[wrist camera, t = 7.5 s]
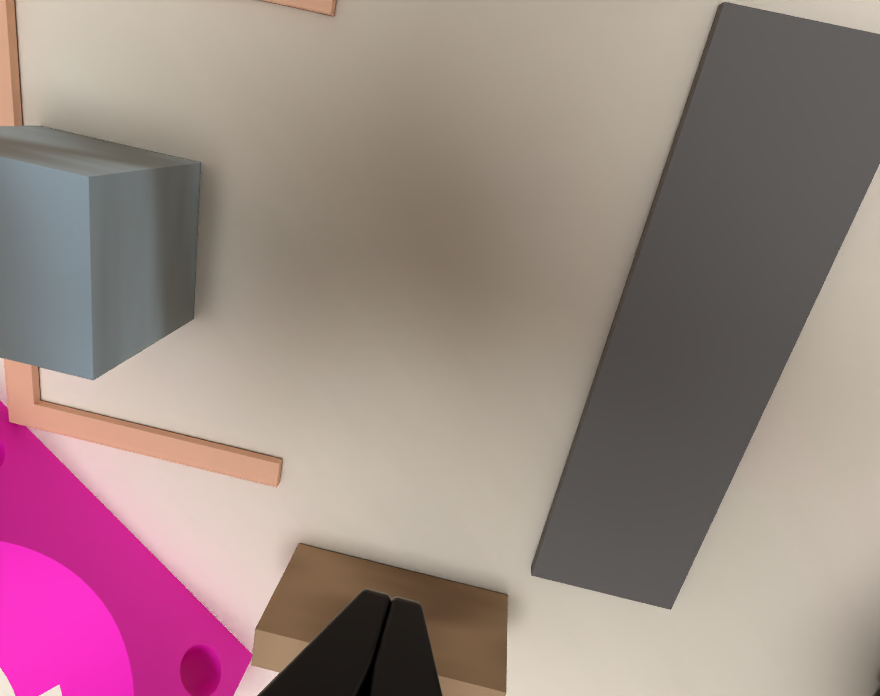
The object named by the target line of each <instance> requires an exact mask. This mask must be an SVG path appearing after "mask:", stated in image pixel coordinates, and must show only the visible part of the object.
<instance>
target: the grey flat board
mask: <svg viewBox="0 0 880 696" xmlns="http://www.w3.org/2000/svg"><path fill="white" fill-rule="evenodd" d="M879 164H880V34H876V33H871V32H866V31H861V30H856V29H852V28H847V27H842V26H837V25H832V24H828V23H823V22H818V21H813V20H808V19H804V18H799V17H794V16H789V15H785V14H780V13H775V12H770V11H765V10H761V9H756V8H751V7H746V6H741V5H737V4H732V3H727V2H724V3H722V4H720V5H719V8H718V11H717V14H716V17H715V20H714V23H713V25H712V28H711V31H710V34H709V37H708V40H707V43H706V46H705V49H704V52H703V55H702V58H701V61H700V64H699V67H698V70H697V73H696V76H695V79H694V82H693V85H692V88H691V91H690V94H689V97H688V100H687V103H686V106H685V109H684V112H683V115H682V118H681V121H680V124H679V127H678V130H677V133H676V136H675V139H674V142H673V145H672V148H671V151H670V154H669V157H668V160H667V163H666V166H665V169H664V172H663V175H662V178H661V181H660V184H659V187H658V190H657V193H656V196H655V199H654V202H653V205H652V208H651V211H650V214H649V217H648V220H647V223H646V226H645V229H644V232H643V235H642V238H641V241H640V244H639V247H638V250H637V253H636V256H635V259H634V262H633V265H632V268H631V271H630V273H629V276H628V279H627V282H626V285H625V288H624V291H623V294H622V297H621V300H620V303H619V306H618V309H617V312H616V315H615V318H614V321H613V324H612V327H611V330H610V333H609V336H608V339H607V342H606V345H605V348H604V351H603V354H602V357H601V360H600V363H599V366H598V369H597V372H596V375H595V378H594V381H593V384H592V387H591V390H590V393H589V396H588V399H587V402H586V405H585V408H584V411H583V414H582V417H581V420H580V423H579V426H578V429H577V432H576V435H575V438H574V441H573V444H572V447H571V450H570V453H569V456H568V459H567V462H566V465H565V468H564V471H563V474H562V477H561V480H560V483H559V486H558V489H557V492H556V495H555V498H554V501H553V504H552V507H551V510H550V513H549V516H548V519H547V521H546V524H545V527H544V530H543V533H542V536H541V539H540V542H539V545H538V548H537V551H536V554H535V557H534V560H533V563H532V566H531V575H532V576H536V577H540V578H544V579H548V580H553V581H557V582H561V583H565V584H569V585H573V586H577V587H581V588H585V589H589V590H593V591H597V592H601V593H605V594H609V595H613V596H618V597H622V598H626V599H630V600H634V601H638V602H642V603H646V604H650V605H654V606H658V607H662V608H666V609H670V610H671V608H672V606H673V604H674V602H675V600H676V598H677V596H678V594H679V591H680V589H681V587H682V585H683V583H684V581H685V579H686V576H687V574H688V572H689V570H690V568H691V566H692V564H693V561H694V559H695V557H696V555H697V553H698V551H699V549H700V546H701V544H702V542H703V540H704V538H705V536H706V534H707V532H708V529H709V527H710V525H711V523H712V521H713V519H714V517H715V514H716V512H717V510H718V508H719V506H720V504H721V502H722V499H723V497H724V495H725V493H726V491H727V489H728V487H729V484H730V482H731V480H732V478H733V476H734V474H735V472H736V470H737V467H738V465H739V463H740V461H741V459H742V457H743V455H744V452H745V450H746V448H747V446H748V444H749V442H750V440H751V437H752V435H753V433H754V431H755V429H756V427H757V425H758V422H759V420H760V418H761V416H762V414H763V412H764V410H765V408H766V405H767V403H768V401H769V399H770V397H771V395H772V393H773V390H774V388H775V386H776V384H777V382H778V380H779V378H780V375H781V373H782V371H783V369H784V367H785V365H786V363H787V360H788V358H789V356H790V354H791V352H792V350H793V348H794V346H795V343H796V341H797V339H798V337H799V335H800V333H801V331H802V328H803V326H804V324H805V322H806V320H807V318H808V316H809V313H810V311H811V309H812V307H813V305H814V303H815V301H816V298H817V296H818V294H819V292H820V290H821V288H822V286H823V284H824V281H825V279H826V277H827V275H828V273H829V271H830V269H831V266H832V264H833V262H834V260H835V258H836V256H837V254H838V251H839V249H840V247H841V245H842V243H843V241H844V239H845V236H846V234H847V232H848V230H849V228H850V226H851V224H852V222H853V219H854V217H855V215H856V213H857V211H858V209H859V207H860V204H861V202H862V200H863V198H864V196H865V194H866V192H867V189H868V187H869V185H870V183H871V181H872V179H873V177H874V174H875V172H876V170H877V168H878V166H879Z"/></svg>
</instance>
